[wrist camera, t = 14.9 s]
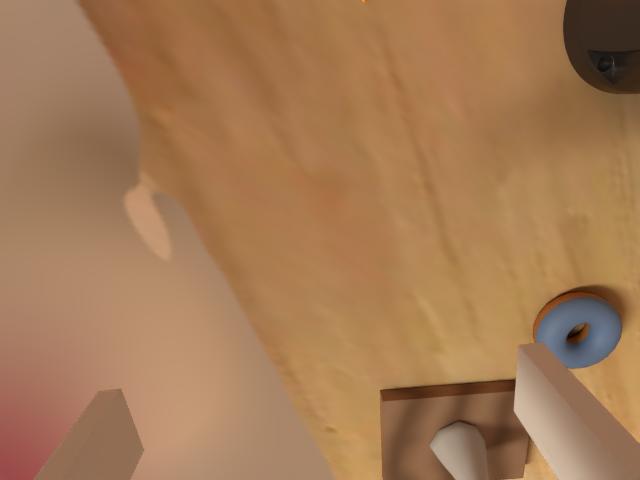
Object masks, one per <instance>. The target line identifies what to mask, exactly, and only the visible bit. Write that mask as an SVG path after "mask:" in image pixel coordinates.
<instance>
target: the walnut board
mask: <svg viewBox="0 0 640 480" xmlns="http://www.w3.org/2000/svg"><path fill="white" fill-rule="evenodd" d="M515 387H516V380H507V381H494V382H482V383H469V384H456V385H443V386H431V387H418V388H405V389H392V390H380V410H381V446H382V477H383V480H455V478H454V477H453V476H452V475H451V473H450V472H449V471H448V470H447V469H446V468H445V466H444V465H443V464H442V463H441V462H440V460H439V459H438V458H437V456H436V455H435V453H434V452H433V450H432V449H431V448H430V446H429V445H430V443H431V442H432V440H433V439H434V437H435V435H436V434H437V432H438V431H439V430H441V429H443V428H445V427H447V426H449V425H452V424H454V423H456V422H462V423H465V424H468V425H472V426H475V427H477V428H478V430H479V431H480V433H481V435H482V436H483V438H484V439H485V443H486V458H487V470H488V479H489V480H504V479H517V478H523V475H524V468H525V462H526V455H527V449H528V442H529V434H528V432H527V431H526V429H525V428H524V426H523V425H522V423H521V421H520V420H519V418H518V417H517V415H516V414H515V412H514V400H515Z"/></svg>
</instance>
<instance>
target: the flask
mask: <svg viewBox="0 0 640 480" xmlns="http://www.w3.org/2000/svg"><path fill="white" fill-rule="evenodd" d="M429 446H430V448H431V449H432V450H433V452H434V453H435V455H436V456H437V458H438V459H439V460H440V462H441V463H442V464H443V465H444V466H445V468H446V469H447V470H448V471H449V472H450V473H451V475H452V476H453V477H454V478H455V480H489V479H488V470H487V458H486V443H485V439H484V438H483V436H482V435H481V433H480V431H479V430H478V428H477V427H475V426H472V425H468V424H465V423H462V422H456V423H454V424H452V425H449V426H447V427H445V428H443V429H441V430H439V431H438V432H437V434H436V435H435V437H434V439H433V440H432V442H431V443H430V445H429Z"/></svg>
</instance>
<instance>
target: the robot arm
mask: <svg viewBox="0 0 640 480" xmlns="http://www.w3.org/2000/svg"><path fill="white" fill-rule="evenodd" d="M563 30H564V42H565V47H566V51H567V54H568V57H569V59H570V62H571V64H572V65H573V67H574V69H575V70H576V72H577V73H578V74H579V75H580V77H581V78H582V79H583V80H585V81H586V82H587V83H588V84H590V85H591V86H593V87H595V88H597V89H599V90H602V91H605V92H609V93H615V94H638V93H640V0H567V3H566V8H565V14H564V26H563ZM514 412H515V414H516V415H517V417H518V418H519V420H520V421H521V423H522V425H523V426H524V428H525V429H526V431H527V432H528V434H529V435H530V437H531V438H532V440H533V441H534V443H535V445H536V446H537V448H538V449H539V451H540V452H541V454H542V455H543V457H544V458H545V460H546V461H547V463H548V464H549V466H550V468H551V469H552V471H553V472H554V474H555V475H556V477H557V478H558V480H640V444H639V443H638V442H637V441H636V440H635V439H634V437H633V436H632V435H631V434H630V433H629V432H628V431H627V430H626V429H625V428H624V427H623V426H622V425H621V424H620V423H619V422H618V421H617V420H616V419H615V418H614V417H613V416H612V414H611V413H610V412H609V411H608V410H607V409H606V408H605V407H604V406H603V405H602V404H601V403H600V402H599V401H598V400H597V399H596V398H595V397H594V396H593V395H592V394H591V393H590V391H589V390H588V389H587V388H586V387H585V386H584V385H583V384H582V383H581V382H580V381H579V380H578V379H577V378H576V377H575V376H574V375H573V374H572V373H571V372H570V371H569V370H568V368H567V367H566V366H565V365H564V364H563V363H562V362H561V361H560V360H559V359H558V358H557V357H556V356H555V355H554V354H553V353H552V352H551V351H550V350H549V349H548V348H547V346H546V345H545V344H544V343H543V342H541V343H532V344H523V345H519V348H518V361H517V374H516V387H515V400H514ZM143 451H144V448H143V446H142V443H141V441H140V438H139V435H138V432H137V430H136V427H135V424H134V422H133V419H132V416H131V414H130V411H129V408H128V406H127V403H126V401H125V398H124V395H123V392H122V390H121V389H114V390H105V391H98V392H97V394H96V395H95V397H94V398H93V399H92V401H91V402H90V403H89V405H88V406H87V407H86V409H85V410H84V412H83V413H82V414H81V416H80V417H79V418H78V420H77V421H76V423H75V424H74V425H73V427H72V428H71V429H70V430H69V432H68V433H67V435H66V436H65V438H64V439H63V440H62V441H61V443H60V444H59V445H58V447H57V448H56V450H55V451H54V452H53V454H52V455H51V456H50V458H49V459H48V460H47V462H46V463H45V465H44V466H43V467H42V469H41V470H40V471H39V473H38V474H37V475H36V477H35V478H34V480H130V479H131V476H132V474H133V472H134V470H135V468H136V466H137V464H138V462H139V460H140V458H141V456H142V454H143Z"/></svg>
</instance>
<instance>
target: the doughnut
mask: <svg viewBox="0 0 640 480" xmlns="http://www.w3.org/2000/svg"><path fill="white" fill-rule="evenodd" d="M582 323H585V326H584V328H583V330H582V331H581V332H580V333H579V334H577V335H576V336H574V337H571V338H567V335H568V333H569V332H570V331H571V330H572V329H573V328H574V327H576V326H577V325H580V324H582ZM621 333H622V323H621V318H620V315H619V314H618V312H617V311H616V310H615V308H614V307H613V306H612V305H611V304H610V303H609V302H608V301H607V300H605V299H603V298H601V297H599V296H598V295H595V294H591V293H585V292H576V293H568V294H565V295H563V296H560V297H558V298H556V299H554V300H553V301H551V302H550V303H549V304H547V305H546V306H545V307H544V308H543V309H542V310H541V312H540V313H539V314H538V316H537V318H536V320H535V323H534V326H533V339H534V342H535V343H541V342H543V343H544V344H545V345H546V346H547V348H548V349H549V350H550V351H551V352H552V353H553V354H554V355H555V356H556V357H557V358H558V359H559V360H560V361H561V362H562V363H563V364H564V365H565V366H566V367H567V368H570V369H576V368H585V367H588V366H591V365H594V364H596V363H598V362H600V361H601V360H603V359H605V358H606V357H607V356H608V355H609V354H610V353H611V352H612V351H613V350H614V349H615V348H616V346H617V344H618V342H619V340H620V338H621Z"/></svg>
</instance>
